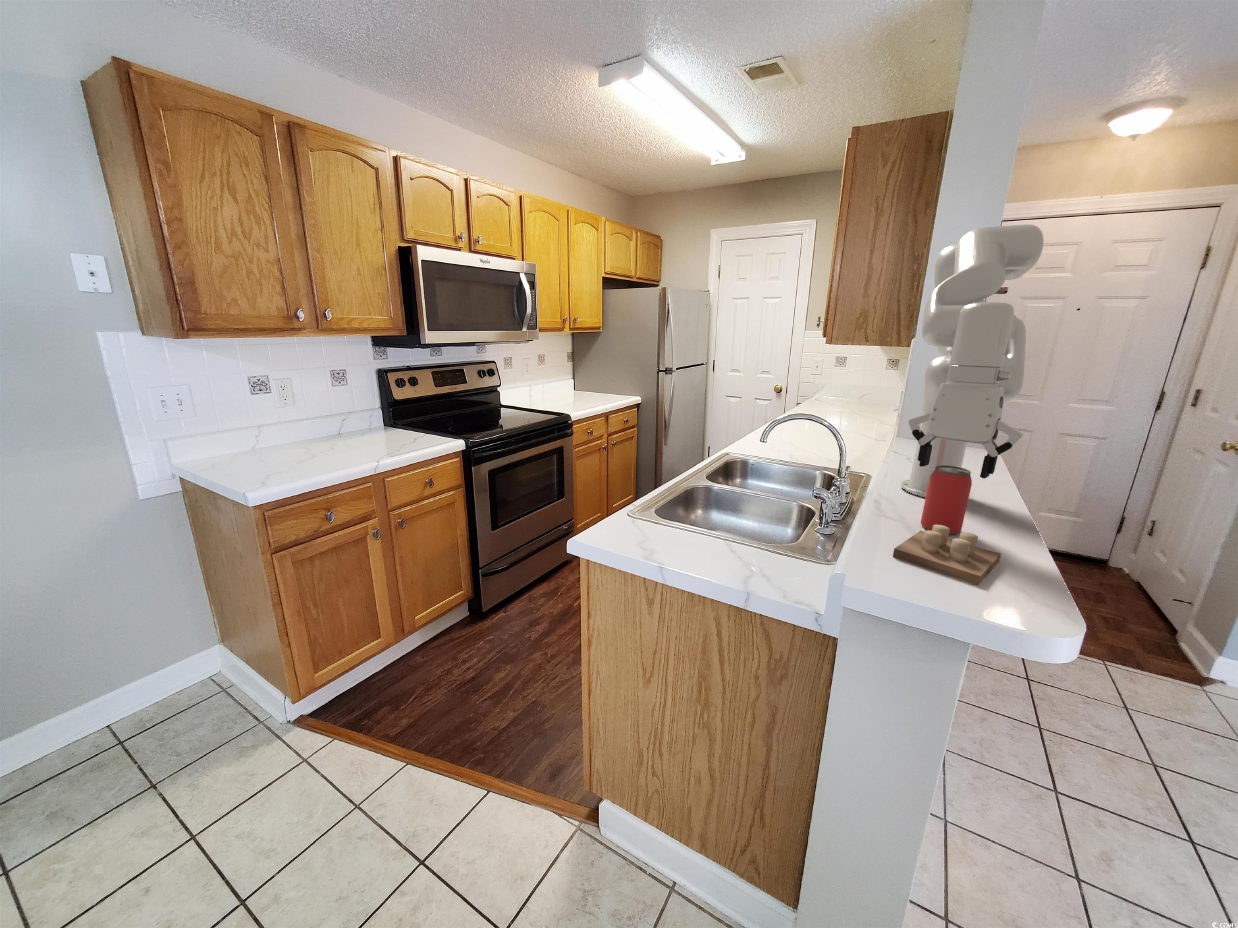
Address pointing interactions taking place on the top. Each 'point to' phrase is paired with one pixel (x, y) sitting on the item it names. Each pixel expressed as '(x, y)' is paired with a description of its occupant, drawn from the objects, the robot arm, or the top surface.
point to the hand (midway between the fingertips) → (953, 471)
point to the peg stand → (948, 554)
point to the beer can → (947, 498)
